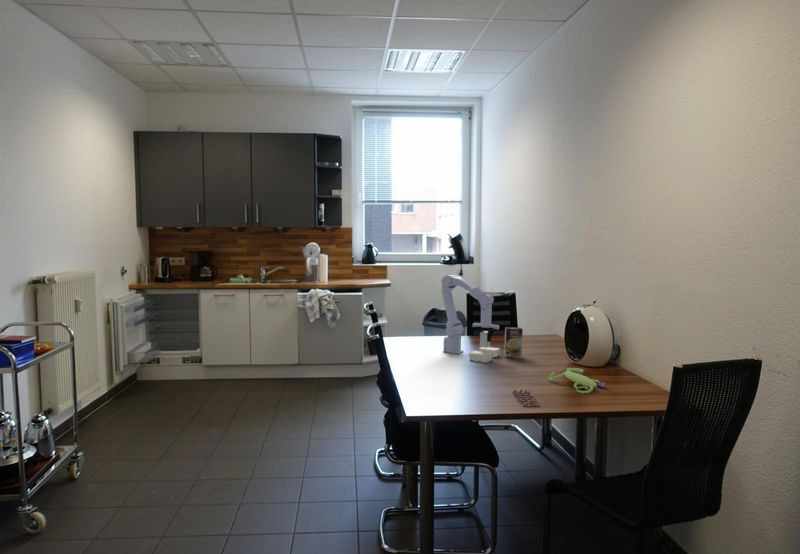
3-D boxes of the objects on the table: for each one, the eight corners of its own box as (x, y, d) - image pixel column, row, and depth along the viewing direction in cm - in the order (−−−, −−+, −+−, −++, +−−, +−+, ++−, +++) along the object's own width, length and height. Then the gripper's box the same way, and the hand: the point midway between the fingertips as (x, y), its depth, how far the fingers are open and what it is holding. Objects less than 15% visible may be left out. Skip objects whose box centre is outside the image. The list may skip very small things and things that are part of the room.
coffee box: (504, 357, 303) (505, 328, 302) (503, 355, 310) (504, 326, 308) (521, 358, 302) (522, 329, 301) (520, 355, 309) (521, 327, 307)
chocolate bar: (522, 408, 219) (522, 403, 219) (512, 394, 238) (512, 389, 238) (540, 408, 219) (540, 403, 219) (529, 394, 238) (529, 389, 238)
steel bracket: (479, 346, 300) (480, 332, 299) (483, 345, 305) (483, 330, 304) (486, 347, 298) (487, 333, 297) (490, 345, 303) (490, 331, 302)
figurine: (573, 376, 269) (573, 364, 268) (615, 390, 244) (615, 378, 244) (542, 379, 261) (542, 368, 261) (582, 395, 237) (583, 382, 236)
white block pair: (469, 360, 296) (469, 352, 296) (483, 353, 313) (483, 346, 313) (487, 362, 291) (487, 355, 291) (499, 355, 309) (500, 348, 308)
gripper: (470, 316, 300) (470, 340, 302) (496, 318, 293) (495, 343, 295) (475, 314, 307) (475, 338, 308) (500, 316, 299) (500, 341, 301)
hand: (485, 341), depth 302 cm, fingers closed on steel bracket, 4 cm apart
